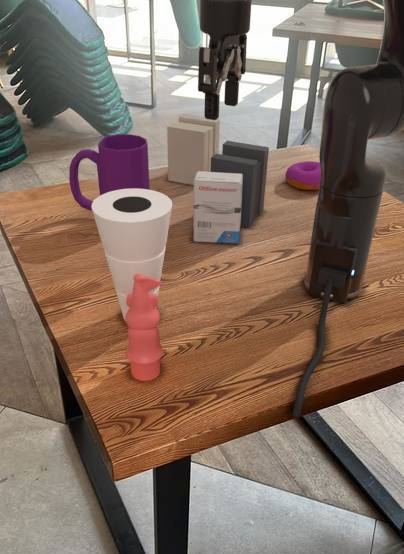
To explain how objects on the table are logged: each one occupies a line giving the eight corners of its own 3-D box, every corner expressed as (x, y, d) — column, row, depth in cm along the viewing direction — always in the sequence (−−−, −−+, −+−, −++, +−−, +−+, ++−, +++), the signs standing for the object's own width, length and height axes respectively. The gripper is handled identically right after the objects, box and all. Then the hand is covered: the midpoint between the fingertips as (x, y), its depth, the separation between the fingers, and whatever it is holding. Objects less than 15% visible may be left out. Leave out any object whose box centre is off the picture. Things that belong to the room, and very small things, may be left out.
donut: (314, 173, 133) (317, 154, 130) (340, 189, 126) (343, 169, 123) (276, 180, 130) (278, 160, 127) (300, 197, 123) (303, 176, 120)
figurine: (165, 358, 79) (162, 263, 70) (165, 383, 75) (162, 285, 66) (128, 358, 79) (120, 263, 70) (126, 383, 75) (117, 285, 66)
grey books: (249, 228, 111) (254, 161, 103) (208, 219, 114) (210, 154, 105) (263, 211, 117) (269, 147, 109) (224, 203, 120) (227, 140, 111)
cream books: (203, 187, 126) (204, 130, 118) (167, 180, 129) (166, 124, 121) (217, 174, 132) (219, 119, 124) (183, 168, 135) (183, 113, 127)
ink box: (240, 232, 109) (243, 172, 102) (238, 244, 106) (242, 182, 98) (195, 230, 110) (196, 169, 102) (192, 242, 106) (193, 180, 99)
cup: (188, 317, 87) (188, 205, 76) (134, 346, 81) (125, 230, 70) (143, 289, 93) (137, 182, 82) (89, 315, 87) (75, 203, 76)
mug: (146, 230, 109) (142, 151, 100) (67, 225, 111) (56, 146, 101) (155, 210, 116) (152, 134, 107) (80, 205, 118) (71, 130, 108)
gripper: (232, 3, 77) (227, 127, 87) (266, -9, 87) (257, 103, 97) (182, -1, 79) (182, 120, 90) (220, -13, 89) (216, 98, 100)
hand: (221, 111), depth 93 cm, fingers open, 8 cm apart
